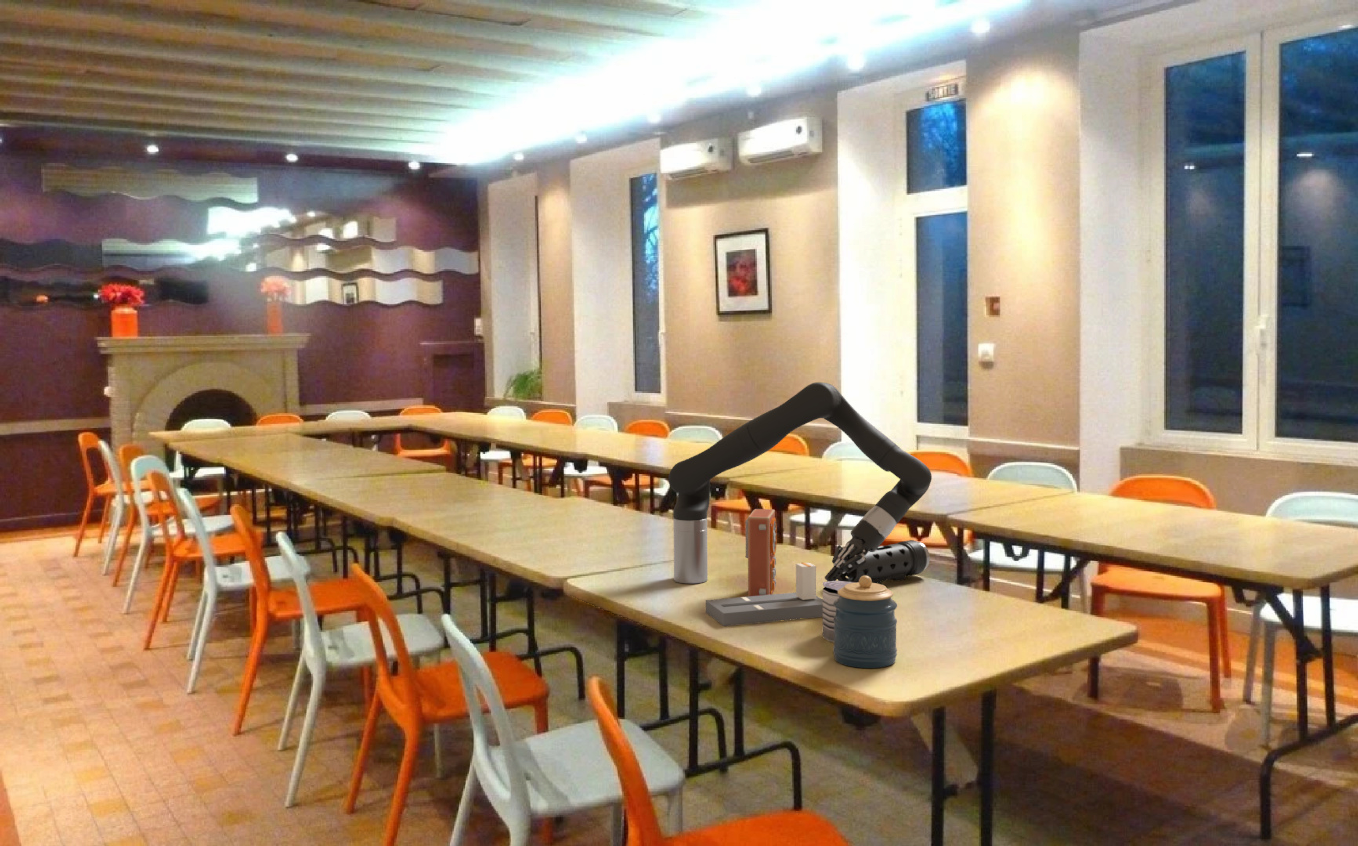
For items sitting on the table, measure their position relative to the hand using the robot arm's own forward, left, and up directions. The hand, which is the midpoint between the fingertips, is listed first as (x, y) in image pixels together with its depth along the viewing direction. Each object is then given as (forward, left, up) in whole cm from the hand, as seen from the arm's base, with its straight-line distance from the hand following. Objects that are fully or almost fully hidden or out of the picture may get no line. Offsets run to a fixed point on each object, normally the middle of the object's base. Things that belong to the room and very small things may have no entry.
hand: (828, 581), depth 265 cm
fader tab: (0, -6, -3) cm, 7 cm away
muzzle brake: (-20, +26, -7) cm, 33 cm away
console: (0, -16, -7) cm, 17 cm away
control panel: (-18, -10, -7) cm, 22 cm away
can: (+24, -6, -7) cm, 26 cm away
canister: (+40, -10, -7) cm, 42 cm away
